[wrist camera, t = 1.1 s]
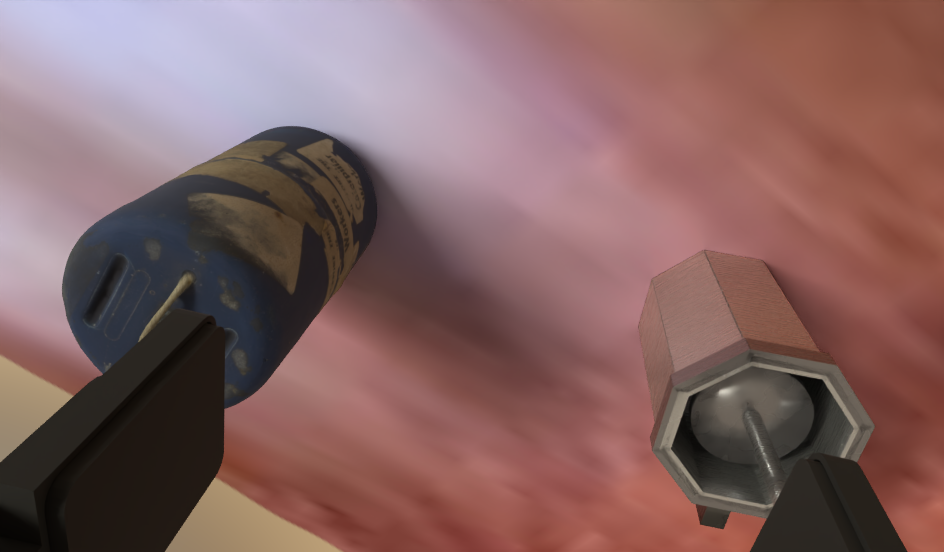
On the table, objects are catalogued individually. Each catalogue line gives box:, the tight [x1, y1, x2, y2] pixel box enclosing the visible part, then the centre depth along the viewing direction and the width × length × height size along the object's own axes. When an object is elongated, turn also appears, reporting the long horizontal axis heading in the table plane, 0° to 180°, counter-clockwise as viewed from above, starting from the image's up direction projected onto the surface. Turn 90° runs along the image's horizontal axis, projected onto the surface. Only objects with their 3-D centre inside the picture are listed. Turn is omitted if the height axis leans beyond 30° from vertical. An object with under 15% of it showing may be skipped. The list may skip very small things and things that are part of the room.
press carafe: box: [638, 250, 875, 529], centre depth 37 cm, size 11×9×12 cm
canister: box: [62, 126, 377, 409], centre depth 34 cm, size 10×10×18 cm
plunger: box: [689, 366, 814, 506], centre depth 26 cm, size 6×6×16 cm
